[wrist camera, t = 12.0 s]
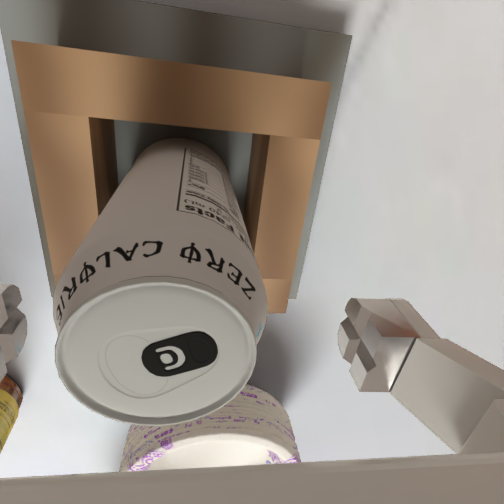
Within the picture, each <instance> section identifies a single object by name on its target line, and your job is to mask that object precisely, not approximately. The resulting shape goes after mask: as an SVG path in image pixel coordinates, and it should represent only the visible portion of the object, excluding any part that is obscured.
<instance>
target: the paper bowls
mask: <svg viewBox="0 0 504 504" xmlns="http://www.w3.org/2000/svg"><path fill="white" fill-rule="evenodd" d="M299 462H301V460H300V455H299V452H298V448H297V445H296V443H295V437H294V434H293V431H292V426H291V423H290V419H289V416H288V414H287V412H286V410H285V409H284V407H283V406H282V405H281V403H280V402H279V401H278V400H277V399H275V398H274V397H273V396H272V395H271V394H269V393H267V392H266V391H264V390H261V389H259V388H256V387H254V386H251V385H245V387H244V388H243V389H242V390H241V391H240V392H239V393H238V394H237V395H236V396H235V398H234V399H232V400H231V401H230V402H228V403H227V404H226V405H224V406H223V407H221V408H220V409H218V410H216V411H214V412H212V413H210V414H208V415H206V416H203V417H200V418H198V419H195V420H192V421H188V422H183V423H179V424H172V425H162V426H147V425H135V424H132V425H131V427H130V429H129V432H128V436H127V439H126V443H125V447H124V452H123V456H122V461H121V466H120V471H119V472H127V471H147V470H166V469H185V468H204V467H224V466H243V465H262V464H281V463H299Z"/></svg>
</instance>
